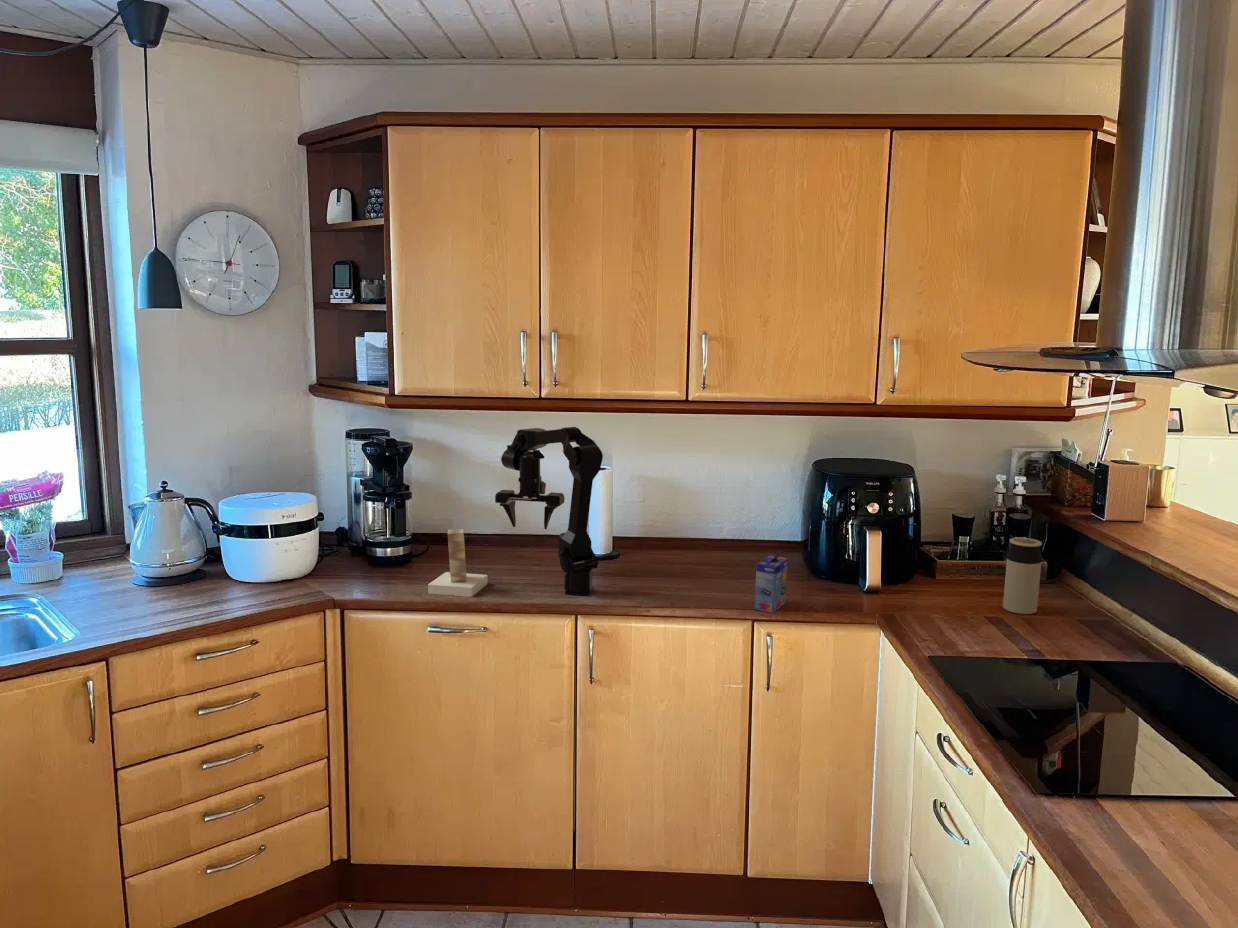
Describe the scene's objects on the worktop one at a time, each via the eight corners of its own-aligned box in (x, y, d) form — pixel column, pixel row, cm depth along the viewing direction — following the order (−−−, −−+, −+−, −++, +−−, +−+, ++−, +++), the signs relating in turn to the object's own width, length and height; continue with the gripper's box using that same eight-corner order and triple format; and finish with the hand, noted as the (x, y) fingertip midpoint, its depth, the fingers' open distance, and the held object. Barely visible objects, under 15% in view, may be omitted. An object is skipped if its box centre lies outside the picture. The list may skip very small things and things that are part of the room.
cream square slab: (487, 585, 249) (487, 574, 249) (471, 598, 238) (471, 587, 237) (446, 582, 252) (446, 571, 251) (428, 595, 240) (427, 584, 240)
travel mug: (1025, 617, 227) (1032, 546, 224) (996, 608, 234) (1002, 539, 231) (1043, 611, 232) (1049, 542, 229) (1013, 603, 238) (1019, 535, 235)
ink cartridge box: (774, 614, 227) (776, 557, 225) (753, 610, 230) (755, 554, 228) (786, 603, 236) (789, 548, 234) (766, 599, 239) (768, 545, 236)
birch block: (466, 575, 247) (463, 528, 245) (466, 580, 242) (463, 532, 240) (451, 577, 247) (448, 529, 245) (450, 581, 242) (447, 533, 240)
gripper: (569, 470, 261) (569, 523, 264) (507, 467, 265) (507, 519, 268) (559, 476, 251) (559, 532, 253) (494, 473, 254) (494, 528, 257)
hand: (529, 527), depth 258 cm, fingers open, 9 cm apart
